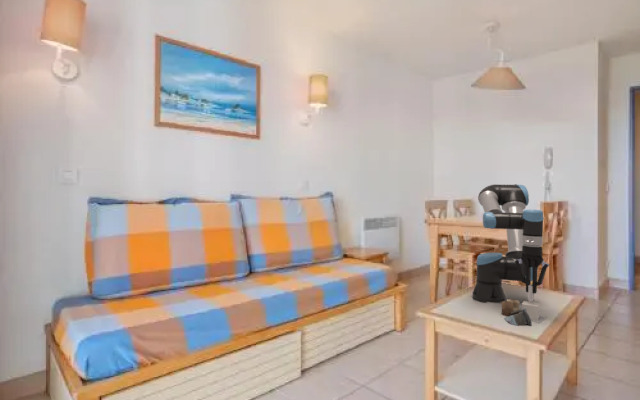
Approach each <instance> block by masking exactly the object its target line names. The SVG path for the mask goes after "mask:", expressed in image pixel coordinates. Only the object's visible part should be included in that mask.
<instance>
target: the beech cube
mask: <svg viewBox="0 0 640 400" xmlns="http://www.w3.org/2000/svg"><path fill="white" fill-rule="evenodd" d="M506 301H509V302H512V303H513V311H517V310H520V300H517V299H509V298H507V299H506Z"/></svg>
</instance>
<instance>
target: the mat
mask: <svg viewBox="0 0 640 400" xmlns="http://www.w3.org/2000/svg"><path fill="white" fill-rule="evenodd" d="M546 319H547V317H546V316H541V315H539V319H538V321H536V320H531V323H532V322H533V323H538V324H541V323H542V322H543V321H545V320H546Z"/></svg>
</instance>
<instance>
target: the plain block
mask: <svg viewBox="0 0 640 400" xmlns="http://www.w3.org/2000/svg"><path fill="white" fill-rule="evenodd" d="M540 304H541V303H540V302H536V301H535V302H533V301H528V300H523V301H522V303H521V309H526V312H527V313H528V315H529V317H530V319H531V320H536V321H538V319H539V316H540V310H541V309H540Z"/></svg>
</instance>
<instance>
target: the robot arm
mask: <svg viewBox="0 0 640 400" xmlns="http://www.w3.org/2000/svg"><path fill="white" fill-rule="evenodd" d="M529 196H530V195H529V191H528V189H527V187H526V186H525V185H523V184H517V183H516V184H490V185H487V186H485V187H484V188H483V189H481V190H480V192H479V193H478V196H477V198H478V202H479V205H480V206H482V208H483V211H484V212H483V213H482V226H483V228H485V229H492V230H493V229H494V230H495V229H498V230H501V229H502V230H506V236H507V237H506V238H507V250H508V251H507V252H506V253H505V255H504V256H503V254H502V253H501V252H486V253H481V254H480V253H479V254H478V256H477V258H476V263H475V264H476V282H475V283H476V284H474V285H475V286H474V288H473V290H472V294H471V295H472V299H473V300H475V301H478V302H482V303H493V304H494V303H495V304H497V303H499V304H500V303H502V301H506V295H505V293H504V288H503V286H502V284H503V281H502V280H504V281H511V282H512V281H513V282H514V281H515V282H516V281H517V282H521V283H522V284H525V292H526V293H527V294H528V295H527V301H529V302H533V301H534V300H535V294H537V292H538V291H537V287H539V286H541V285H543V282H544V279H545V275H546V272H547V269H548V267H550V264H549V263H548V262H546V261H544V260H545V259H544V258H543V247H542V246H543V245H544V243H543V239H544V238H543V235H544V234H543V233H544V231H543V230H544V219H545V218H544V211H543V210H541V209H526V207H527V206H528V205H529V202H530V199H529V198H530V197H529ZM503 211H504V212H503ZM540 265H541V266H542V267H541V269H540V272H539V275H538V270H539V267H540ZM531 282H532V283H531Z"/></svg>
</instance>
